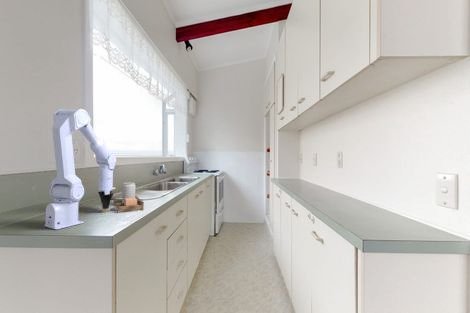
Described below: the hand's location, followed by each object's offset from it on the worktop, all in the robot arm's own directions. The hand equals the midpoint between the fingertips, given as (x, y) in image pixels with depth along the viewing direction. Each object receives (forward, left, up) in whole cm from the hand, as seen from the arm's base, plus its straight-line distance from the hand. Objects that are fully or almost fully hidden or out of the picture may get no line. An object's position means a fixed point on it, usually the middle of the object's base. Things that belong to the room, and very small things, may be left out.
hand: (105, 207), depth 107 cm
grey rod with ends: (+5, -3, -2) cm, 6 cm away
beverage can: (+14, +2, -2) cm, 15 cm away
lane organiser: (+11, -2, -2) cm, 11 cm away
